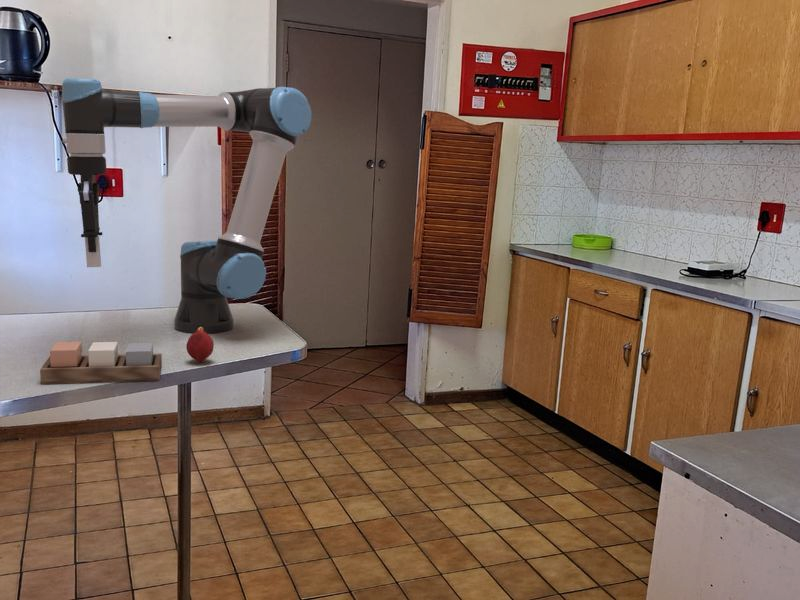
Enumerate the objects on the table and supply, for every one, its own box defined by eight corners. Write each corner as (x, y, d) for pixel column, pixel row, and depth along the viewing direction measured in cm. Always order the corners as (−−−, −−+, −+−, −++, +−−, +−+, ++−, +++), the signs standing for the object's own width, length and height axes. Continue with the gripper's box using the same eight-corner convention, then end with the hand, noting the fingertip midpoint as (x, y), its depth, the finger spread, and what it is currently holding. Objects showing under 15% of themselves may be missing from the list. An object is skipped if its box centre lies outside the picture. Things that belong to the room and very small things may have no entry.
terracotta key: (82, 357, 153) (81, 341, 152) (76, 366, 147) (76, 350, 146) (56, 357, 152) (56, 342, 151) (50, 366, 145) (49, 350, 145)
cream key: (118, 357, 155) (117, 341, 154) (114, 366, 148) (114, 350, 148) (93, 357, 154) (93, 342, 153) (88, 366, 147) (88, 350, 147)
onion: (206, 367, 161) (206, 331, 159) (181, 364, 162) (181, 329, 160) (217, 360, 166) (217, 325, 165) (193, 357, 167) (193, 323, 166)
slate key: (153, 357, 157) (153, 342, 156) (151, 366, 150) (151, 351, 150) (129, 358, 156) (128, 343, 155) (126, 367, 149) (125, 351, 148)
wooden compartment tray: (161, 367, 159) (161, 353, 159) (159, 380, 150) (159, 366, 149) (50, 369, 153) (50, 355, 153) (40, 384, 144) (40, 369, 143)
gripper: (70, 154, 160) (78, 262, 165) (62, 156, 147) (71, 272, 152) (108, 154, 162) (114, 261, 167) (102, 156, 150) (110, 271, 155)
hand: (94, 266), depth 160 cm, fingers closed
